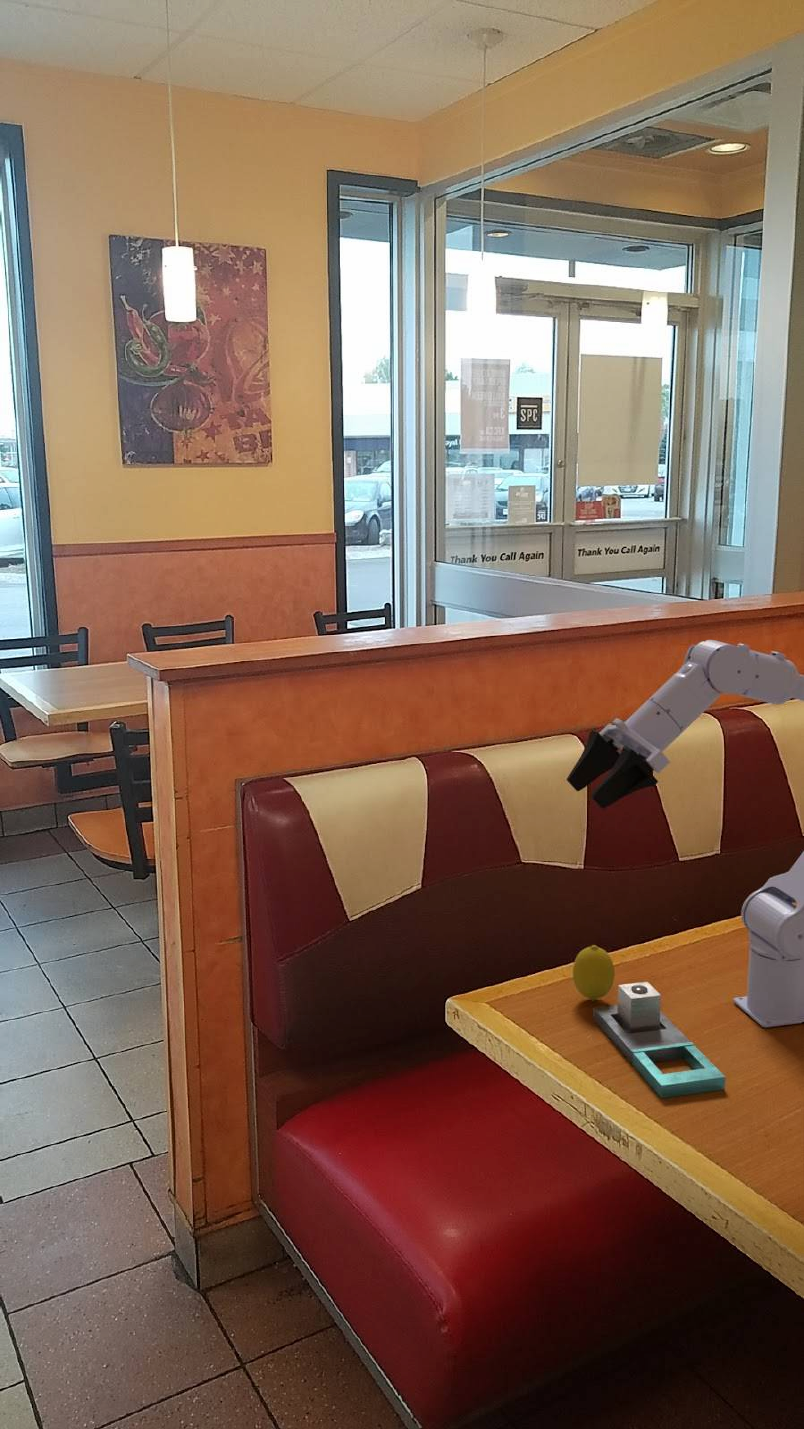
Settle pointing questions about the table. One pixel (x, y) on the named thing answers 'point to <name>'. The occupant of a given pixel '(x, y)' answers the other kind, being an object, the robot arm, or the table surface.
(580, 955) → the lemon
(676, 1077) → the teal silver rectangular frame
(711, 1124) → the table surface
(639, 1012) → the domed white cube
